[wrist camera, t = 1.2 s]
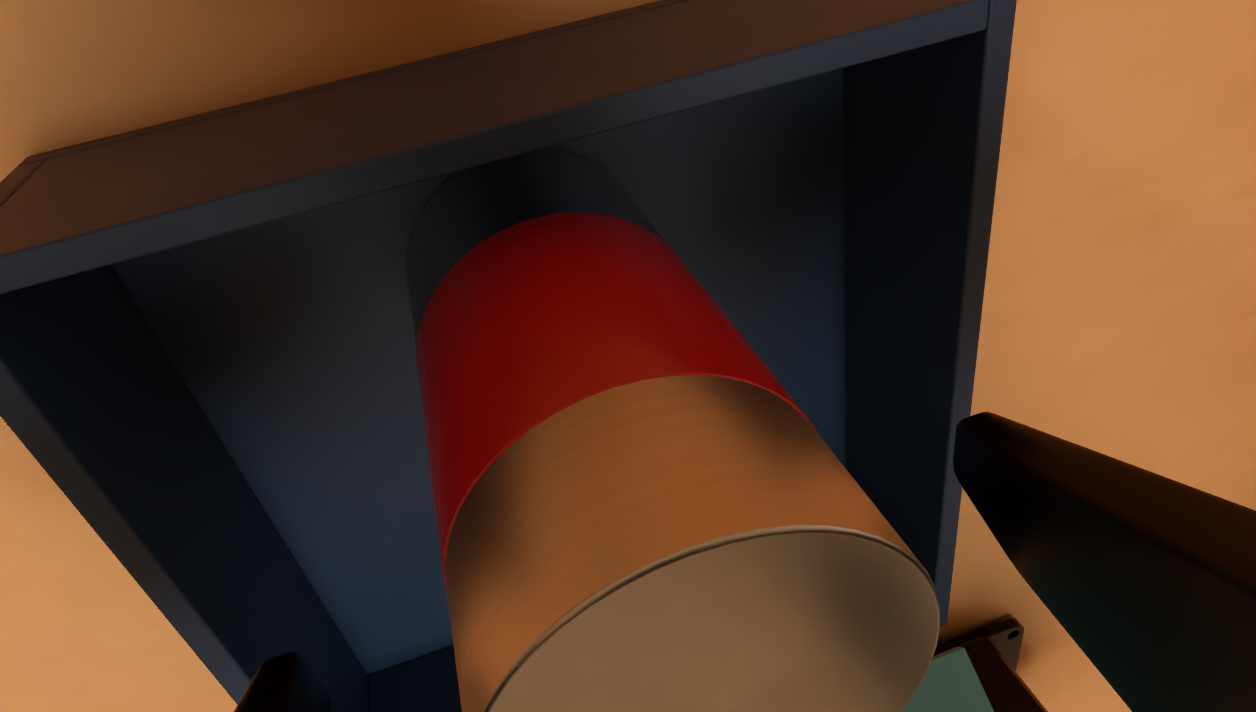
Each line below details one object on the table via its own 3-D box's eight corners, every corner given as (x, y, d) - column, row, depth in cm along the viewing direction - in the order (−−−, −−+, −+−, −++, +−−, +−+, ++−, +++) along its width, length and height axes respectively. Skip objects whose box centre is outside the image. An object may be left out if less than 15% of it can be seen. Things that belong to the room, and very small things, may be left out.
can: (660, 329, 19) (931, 752, 10) (447, 394, 18) (538, 912, 9) (624, 116, 16) (963, 452, 7) (367, 185, 15) (388, 657, 6)
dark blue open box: (852, 500, 25) (947, 624, 21) (356, 675, 23) (357, 851, 19) (852, -47, 16) (1019, -11, 12) (24, 157, 14) (-111, 285, 10)
